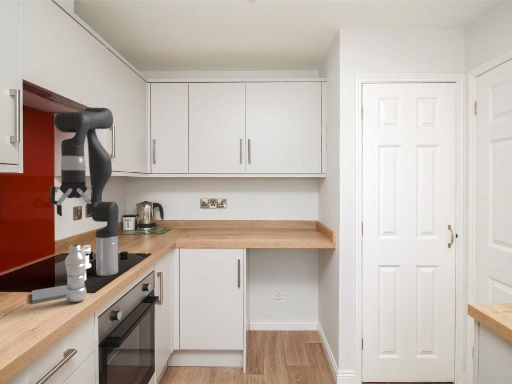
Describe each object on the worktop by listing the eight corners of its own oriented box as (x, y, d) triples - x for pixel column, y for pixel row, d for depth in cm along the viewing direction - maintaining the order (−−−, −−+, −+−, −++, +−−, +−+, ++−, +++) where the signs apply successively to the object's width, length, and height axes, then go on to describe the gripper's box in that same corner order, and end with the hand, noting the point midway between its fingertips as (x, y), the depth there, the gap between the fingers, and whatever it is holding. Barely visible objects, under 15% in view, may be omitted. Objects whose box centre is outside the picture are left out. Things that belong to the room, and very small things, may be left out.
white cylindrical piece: (91, 281, 140) (91, 246, 139) (73, 283, 137) (72, 248, 136) (90, 276, 146) (90, 243, 146) (72, 279, 143) (72, 245, 142)
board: (32, 293, 125) (31, 290, 124) (73, 286, 133) (73, 284, 132) (32, 303, 115) (32, 300, 115) (77, 295, 123) (77, 292, 123)
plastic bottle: (75, 305, 113) (74, 248, 112) (61, 302, 115) (60, 246, 115) (91, 299, 119) (89, 244, 118) (77, 296, 121) (76, 243, 121)
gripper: (93, 169, 123) (94, 213, 123) (48, 169, 114) (50, 215, 115) (97, 169, 116) (98, 214, 117) (50, 168, 108) (51, 217, 109)
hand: (74, 215), depth 116 cm, fingers open, 8 cm apart
